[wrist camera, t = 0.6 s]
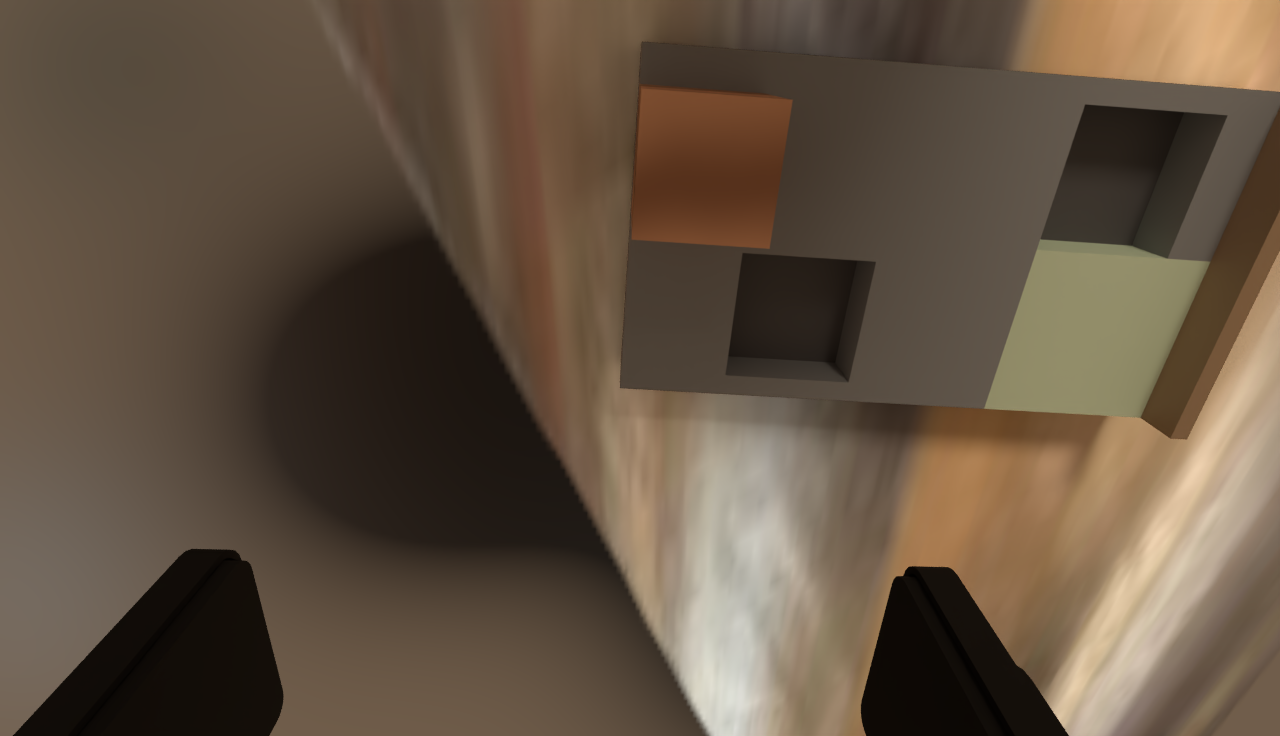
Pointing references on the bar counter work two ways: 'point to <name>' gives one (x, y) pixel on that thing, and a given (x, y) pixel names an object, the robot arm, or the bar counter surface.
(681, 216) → the block
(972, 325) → the deck
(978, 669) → the robot arm
